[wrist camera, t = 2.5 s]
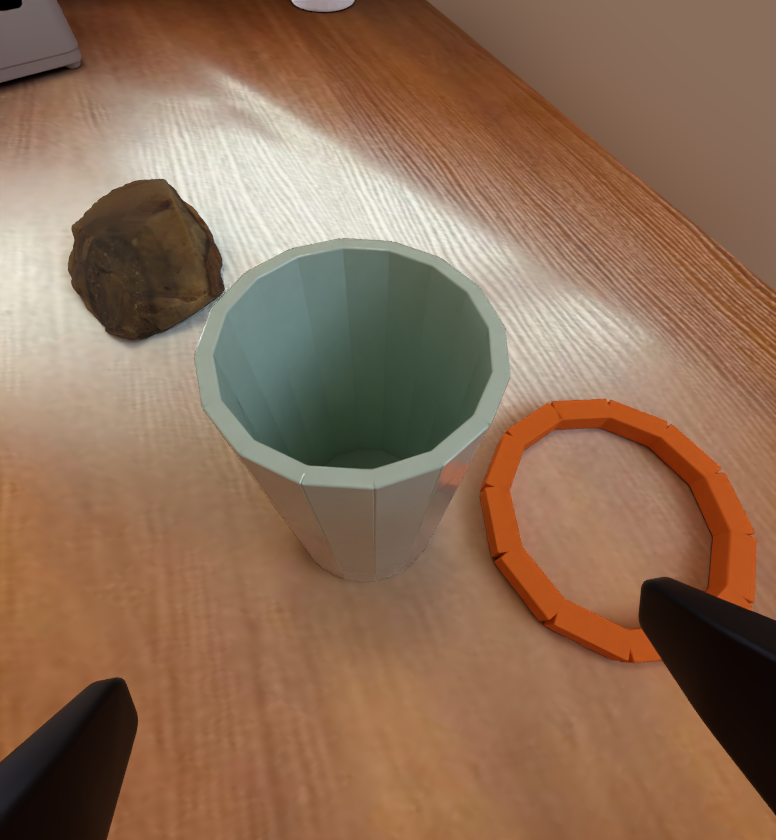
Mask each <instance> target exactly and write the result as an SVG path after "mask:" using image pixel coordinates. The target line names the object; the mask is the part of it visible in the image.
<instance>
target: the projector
mask: <svg viewBox="0 0 776 840" xmlns="http://www.w3.org/2000/svg"><path fill="white" fill-rule="evenodd" d="M81 59H82V55H81V53H80V50H79V48H78V42H77V40H76V38H75V36H74V34H73V32H72V30H71V28H70V26H69V24H68V22H67V20H66V18H65V16H64V14H63V12H62V10H61V8H60V6H59V4H58V2H57V0H0V83H1V82H5V81H9V80H13V79H16V78H20V77H24V76H28V75H32V74H36V73H40V72H43V71H47V70H51V69H55V68H59V67H63V66H66V67H67V68H70V69H74V68H78V67H79V66H80V65H81V63H80V60H81Z"/></svg>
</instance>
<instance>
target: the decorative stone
mask: <svg viewBox="0 0 776 840" xmlns="http://www.w3.org/2000/svg"><path fill="white" fill-rule="evenodd" d="M72 233H73V236H74V245H73V250H72V252H71V254H70V256H69V262H68V271H69V273H70V275H71V277H72V280H71V284H72V286H73V288H74V290H75V291H76V292H77V293H78V294H79V295H80V296H81V298H82V299H83V301H84V303H85V305H86V307H87V309H88V310H89V311H90V312H91V313H92V314H93V315H94V316H95V317H96V318H97V319H98V320H99V321H100V322H101V324H102V325H104V326H105V330H106V331H107V332H108V333H110V334H113V335H120V336H122V337H124V338H128V339H145V338H147V337H149V336H152V335H154V334H156V333H159V332H162V331H165V330H167V329H169V328H171V327H172V326H174V325H175V324H177V323H179V322H181V321H183V320H185V319H186V318H188V317H189V316H191V315H193V314H194V313H196V312H197V311H199V310H200V309H202V308H203V307H204V306H205V305H207V304H208V303H210V302H211V301H212V300H214V299H216V298H217V297H219V296H220V295H221V294H222V293H223V291H224V288H225V287H224V284H223V281H222V278H221V274H220V269H221V267H222V257H221V254H220V252H219V250H218V248H217V246H216V244H215V243H214V239H213V235H212V233H211V231H210V230H209V228H208V226H207V224H206V223H205V222H204V220H203V219H202V218H201V217H200V216H199V214H198V213H197V211H196V210H195V209H194V208H193V207H192V206H190V205H189V204H188V203H186V202H184V201H183V200H182V199H181V198H180V196H179V195H178V193H177V191H176V190H175V189H174V188H173V187H172V186H171V185H169V184H168V182H167V181H166V180H165V179H151V180H138V181H134V182H131V183H128V184H125V185H124V186H122V187H119V188H117V189H114V190H112V191H111V192H110V193H109V194H107V195H105V196H103V197H102V198H100V199H99V200H98V201H97V203H94V204H93V205H92V208H90V209H89V210H88V211H86V212H85V214H84V216H83V217H82V218H81V219H80V220H79V221H77V222H75V224H73V225H72Z"/></svg>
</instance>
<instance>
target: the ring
mask: <svg viewBox="0 0 776 840" xmlns="http://www.w3.org/2000/svg"><path fill="white" fill-rule="evenodd" d="M595 427H601V428H603V429H606V430H608V431H611V432H613V433H616V434H618V435H621V436H623V437H626V438H628V439H631V440H633V441H636V442H638V443H641V444H643V445H646V446H648V447H649V448H651V449H652V450H653V451H654V452H655V453H656V454H657V455H658V456H659V457H660V458H661V459H662V460H663V461H664V462H666V463H667V464H668V465H669V466H670V467H671V468H672V469H673V470H674V471H675V472H676V473H677V474H678V475H679V476H680V477H682V478H683V479H684V480H685V481H686V482H687V483H688V484H689V485H690V487H691V489H692V491H693V494H694V496H695V498H696V500H697V502H698V505H699V507H700V509H701V511H702V513H703V516H704V518H705V520H706V522H707V525H708V527H709V529H710V531H711V533H712V536H713V543H712V554H711V566H710V577H709V588H708V590H707V591H706V593H709V594H711V595H714V596H716V597H719V598H721V599H723V600H726V601H728V602H731V603H733V604H736V605H738V606H741V607H743V608H746V609H748V610H752V608H753V607H752V606H751V605H750V604H749V603H753V602H754V600H755V571H756V543H757V540H756V538H754V537H752V536H749V535H752V534H754V533H755V531H754V529H753V528H752V526H751V524H750V522H749V520H748V518H747V516H746V514H745V512H744V510H743V508H742V506H741V504H740V502H739V500H738V498H737V496H736V494H735V492H734V490H733V488H732V486H731V484H730V482H729V480H728V478H727V476H726V474H725V473H717V472H718V471H719V470H720V469H721V467H720V466H719V465H717V464H716V463H715V462H714V461H713V460H712V459H711V458H710V457H708V456H707V455H706V454H705V453H704V452H703V451H702V450H701V449H699V448H698V447H697V446H696V445H695V444H694V443H693V442H691V441H690V440H689V439H688V438H687V437H686V436H685V435H684V434H682V433H681V432H680V431H679V430H678V429H677V428H676V427H675V426H673V425H672V424H671V425H669V426H668V427H667V421H665V420H663V419H660V418H657V417H655V416H652V415H649V414H647V413H644V412H642V411H639V410H636V409H634V408H631V407H629V406H626V405H623V404H621V403H618V402H615V401H613V400H610V401H609V402H607V400H606V399H592V400H573V401H553V402H552V403H551V404H549V403H547V404H545V405H544V406H542V407H541V408H539V409H538V410H536V411H535V412H533V413H532V414H530V415H529V416H527V417H526V418H524V419H523V420H521V421H520V422H518V423H517V424H515V425H514V426H512V427H511V428H509V429H508V430H507V431H506V433H505V434H504V435H503V436H502V438H501V440H500V441H499V443H498V445H497V448H496V450H495V453H494V456H493V458H492V461H491V463H490V466H489V469H488V471H487V474H486V476H485V479H484V482H483V484H482V487H481V489H480V491H482V493H481V494H480V500H481V505H482V510H483V515H484V521H485V526H486V531H487V536H488V542H489V547H490V552H491V557H499V558H498V559H497V560H495V564H496V566H497V567H498V568H499V569H500V571H501V572H502V573H503V575H504V576H505V577H506V579H507V580H508V581H509V582H510V584H511V585H512V586H513V588H514V589H515V590H516V592H517V593H518V594H519V596H520V597H521V598H522V599H523V601H524V602H525V603H526V605H527V606H528V607H529V609H530V610H531V611H532V612H533V614H534V615H535V616H536V618H537V619H538V620H539V621H545V624H544V626H545V627H547V628H549V629H551V630H553V631H555V632H557V633H559V634H561V635H563V636H565V637H567V638H569V639H571V640H573V641H575V642H577V643H579V644H581V645H583V646H585V647H587V648H589V649H591V650H593V651H595V652H597V653H599V654H601V655H603V656H605V657H607V658H609V659H611V660H617V661H620V662H629V663H639V662H650V661H661V660H662V659H661V658H660V656H659V655H658V653H657V652H656V650H655V648H654V647H653V645H652V644H651V642H650V641H649V639H648V638H647V636H646V635H645V633H644V632H643V630H642V628H634V629H626V628H624V627H622V626H620V625H618V624H616V623H613V622H611V621H609V620H607V619H605V618H603V617H601V616H599V615H597V614H595V613H593V612H591V611H589V610H587V609H584V608H582V607H580V606H578V605H576V604H574V603H572V602H570V601H568V600H566V599H564V598H563V596H562V595H561V594H560V593H559V591H558V590H557V589H556V588H555V586H554V585H553V584H552V583H551V582H550V580H549V579H548V578H547V577H546V575H545V574H544V573H543V572H542V570H541V569H540V568H539V567H538V566H537V564H536V563H535V562H534V561H533V559H532V558H531V557H530V556H529V554H528V553H527V552H526V551H525V549H524V548H523V547H522V543H521V539H520V534H519V530H518V525H517V521H516V517H515V512H514V508H513V503H512V499H511V495H510V487H511V484H512V482H513V479H514V476H515V473H516V470H517V467H518V464H519V462H520V459H521V456H522V453H523V451H524V450H525V449H527V448H528V447H530V446H531V445H533V444H534V443H535V442H537V441H538V440H540V439H541V438H543V437H544V436H546V435H547V434H548V433H550V432H551V431H553V430H559V429H577V428H595Z"/></svg>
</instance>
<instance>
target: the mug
mask: <svg viewBox="0 0 776 840" xmlns="http://www.w3.org/2000/svg"><path fill="white" fill-rule="evenodd" d="M291 1H292V2H293V4H294V5H296V6H298V7H299V8H302V9H305V10H309V11H316V12H331V11H338V10H342V9H345V8H347V7H349V6H351V5H352V4H353V3H354V1H355V0H291Z"/></svg>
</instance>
